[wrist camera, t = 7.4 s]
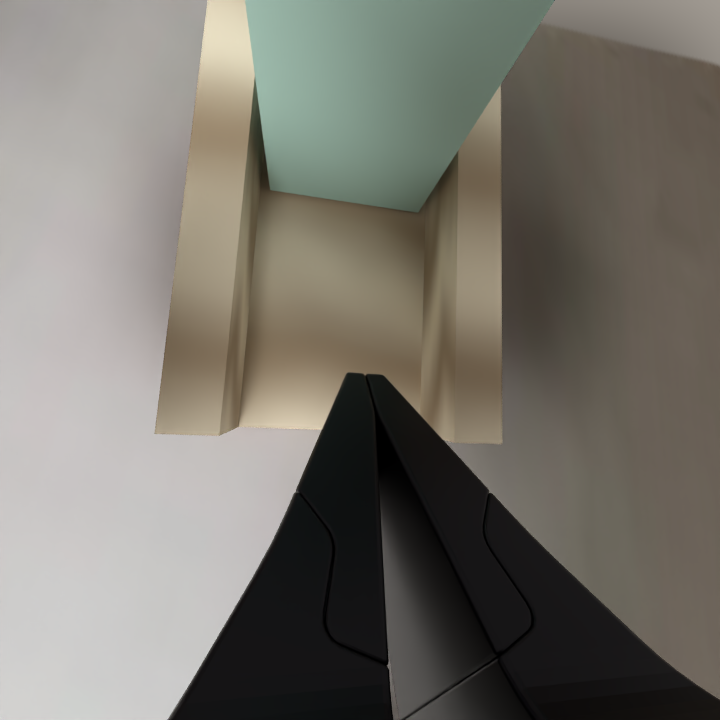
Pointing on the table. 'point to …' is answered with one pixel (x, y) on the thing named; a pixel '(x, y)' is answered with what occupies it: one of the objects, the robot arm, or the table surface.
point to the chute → (325, 278)
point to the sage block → (378, 89)
